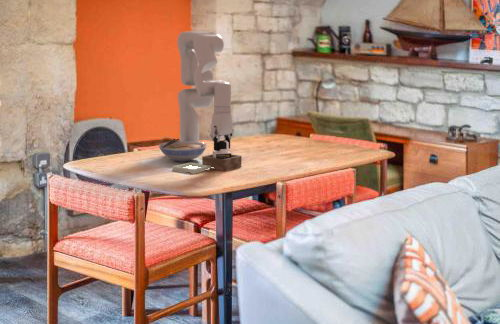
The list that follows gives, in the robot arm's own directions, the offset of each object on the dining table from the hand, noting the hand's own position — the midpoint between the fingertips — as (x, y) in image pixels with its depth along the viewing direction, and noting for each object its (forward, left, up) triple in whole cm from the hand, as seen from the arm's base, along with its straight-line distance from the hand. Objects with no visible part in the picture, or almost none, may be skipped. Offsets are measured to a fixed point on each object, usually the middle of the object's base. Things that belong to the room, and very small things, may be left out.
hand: (222, 149), depth 342 cm
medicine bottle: (0, 0, -8) cm, 8 cm away
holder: (0, 0, -8) cm, 8 cm away
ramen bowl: (-1, -24, -8) cm, 25 cm away
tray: (+14, -6, -8) cm, 17 cm away
